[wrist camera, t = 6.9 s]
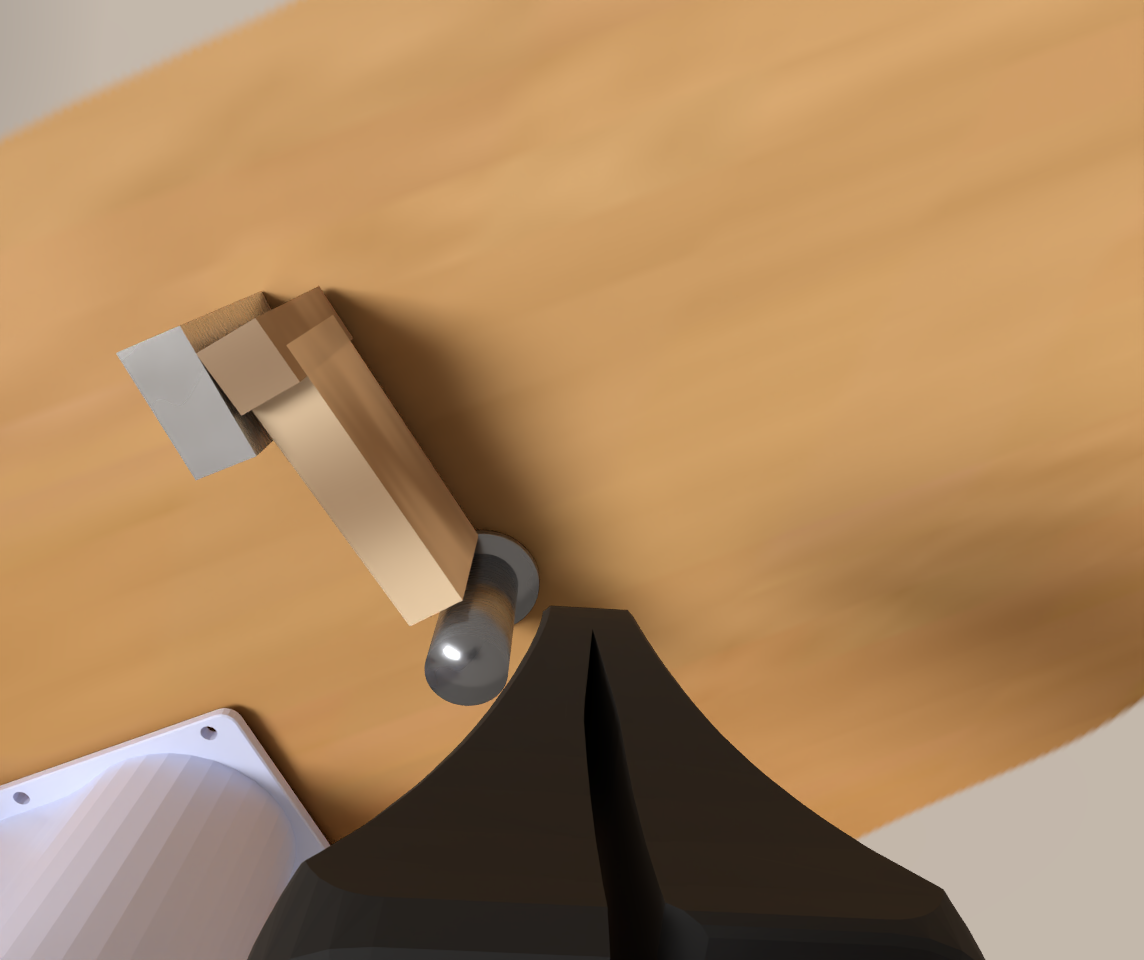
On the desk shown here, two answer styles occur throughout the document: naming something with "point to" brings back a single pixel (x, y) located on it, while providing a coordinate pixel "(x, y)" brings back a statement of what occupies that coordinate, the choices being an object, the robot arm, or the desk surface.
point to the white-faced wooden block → (198, 390)
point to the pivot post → (482, 622)
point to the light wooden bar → (349, 449)
